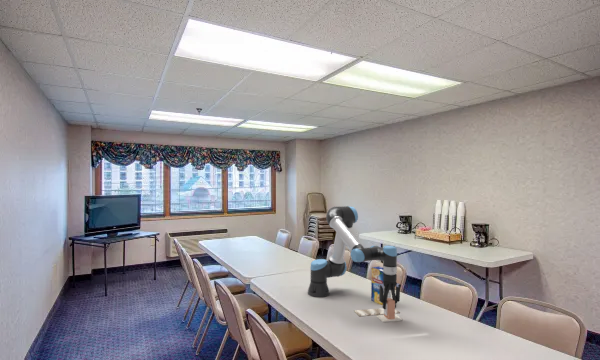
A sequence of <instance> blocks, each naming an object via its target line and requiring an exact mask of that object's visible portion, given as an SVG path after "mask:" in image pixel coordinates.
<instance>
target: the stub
mask: <svg viewBox="0 0 600 360" xmlns="http://www.w3.org/2000/svg"><path fill="white" fill-rule="evenodd" d="M386 303H387V315H385V314H384V315H376V317H377V319H379V320H380V321H381V322H383V323H387V322H398V321H403V318H401V316H399V315H398V314H397V313H396V314H395V309H396V308H395V301H394V300H393V299H392V297H391V298H387V302H386Z"/></svg>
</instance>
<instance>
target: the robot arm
mask: <svg viewBox="0 0 600 360" xmlns="http://www.w3.org/2000/svg"><path fill="white" fill-rule="evenodd" d="M325 218H326V219H325V221H326V223H327V224H328V225H329V227H330V228H331V229H333V230H334V231H335V232H336V233H335V237H334V242H333V247H332V253H331V255H329V257H328V260H327V259H324V258H319V259H318V258H317V259H314V260H312V261H311V263H310V267H309V268H310V283H309V286H308V289H307V294H308V295H309V296H311V297H315V298H324V297H327V296H329V295H330V288H329V286H328V278H335V277H338V278H339V277H342V276H344V275H345V274H346V272H347V263H346V260H345V258H344V256H345V251H346V247H347V248H348V250H349V251H350V258H351V260H352V262H355V263H362V262H369V261H381V262H383V263H382V267H383V272H384V273H383V283H382V284H381V285H380V284H379V285H378V286H379V300H380V302H382V303H383V305H382V308H383V309H384V314H385V315H387V303H386V302H387V297H388V292H389V290H391V299H393V300H394V301H395V309H397V304H398V302H399V303H400V300H401V299H400V297H401V287H402V284H401V283H399V282H397V277H398V275H397V272H398V271H397V269H398V268H397V267H398V264H397V263H398V251H397V250H398V249H397V246H393V245H384V246H383V247H381V246H378V245H371V246H369V247H364V246H363V245H362V244H361V242H360V241H359V240H358V239H357V238H356V236H355V235H354V234H353V233H352V231H351V230H350V229H352V228H353V225H354V224H355V223H357V222H358V220H359V214H358V211H357V209H356V208H355V207H354V206H349V205H347V206H346V205H345V206H332V207H331V208H329V209H328V210H327V211H326V217H325ZM383 286H384V287H385V288H384V295H383Z"/></svg>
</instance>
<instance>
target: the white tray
mask: <svg viewBox="0 0 600 360" xmlns="http://www.w3.org/2000/svg"><path fill="white" fill-rule="evenodd" d="M353 312H354V313H355V314H356V315H357V316H358V317H360V318H361V317H370V316H377V315H384V309H383V307H381V308H370V309H369V308H368V309H356V310H353ZM400 313H401V312H400V311H399V310H398V309H397V308H395V314H396V315H397V314H400Z"/></svg>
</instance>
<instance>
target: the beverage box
mask: <svg viewBox="0 0 600 360" xmlns="http://www.w3.org/2000/svg"><path fill="white" fill-rule="evenodd" d="M383 273H384V272H383V266H379V265H378V266H374V267H371V282H370V284H371V286H370V287H371V288H370V289H371V290H370V291H371V294H370V295H371V298H370V299H371V301H372V302H374V303H376V304H379V305H380V306H383V303H382V302H380V300H379V286H378V285H379V284H380V285H381V284H382V283H383ZM384 288H385V287H384V286H383V295H384ZM387 298H391V299H392V294H391V290H389V292H388V297H387Z"/></svg>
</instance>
